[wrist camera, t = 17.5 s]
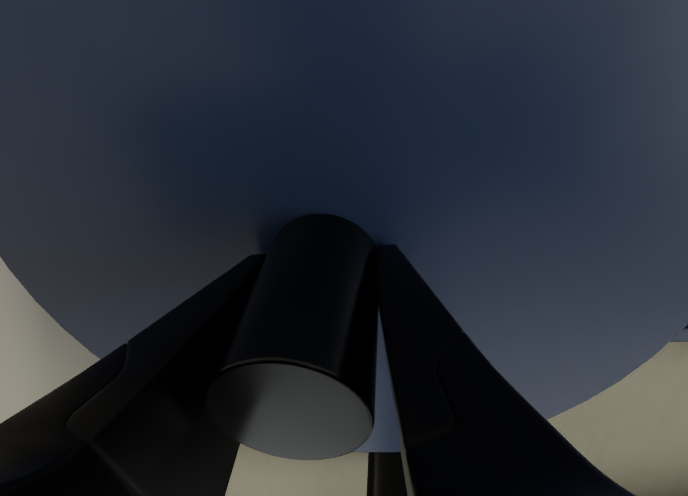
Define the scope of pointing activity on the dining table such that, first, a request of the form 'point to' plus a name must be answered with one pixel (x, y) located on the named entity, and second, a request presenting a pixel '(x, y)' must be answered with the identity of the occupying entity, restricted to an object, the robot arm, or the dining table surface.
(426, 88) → the lid
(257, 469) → the dining table surface
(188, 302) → the robot arm
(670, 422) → the dining table surface
